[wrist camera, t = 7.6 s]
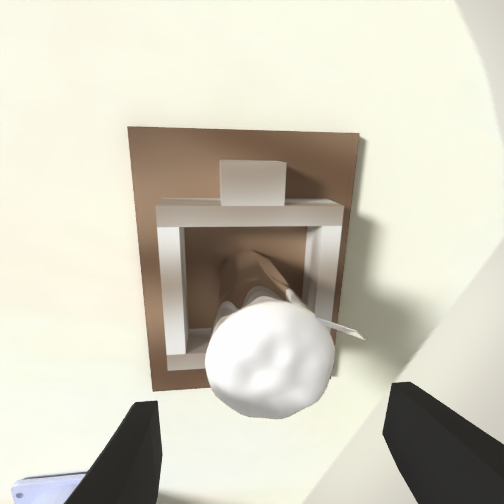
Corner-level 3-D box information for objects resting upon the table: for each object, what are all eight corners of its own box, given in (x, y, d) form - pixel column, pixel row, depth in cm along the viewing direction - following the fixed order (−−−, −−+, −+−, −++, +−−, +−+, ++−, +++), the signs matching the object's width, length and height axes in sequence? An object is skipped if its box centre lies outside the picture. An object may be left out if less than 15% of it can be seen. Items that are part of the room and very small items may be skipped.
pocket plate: (327, 373, 22) (345, 407, 19) (154, 385, 21) (144, 423, 18) (354, 133, 17) (383, 130, 14) (130, 127, 16) (112, 121, 13)
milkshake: (309, 264, 19) (408, 379, 9) (246, 323, 19) (279, 485, 10) (257, 212, 17) (311, 284, 8) (192, 277, 18) (169, 415, 9)
